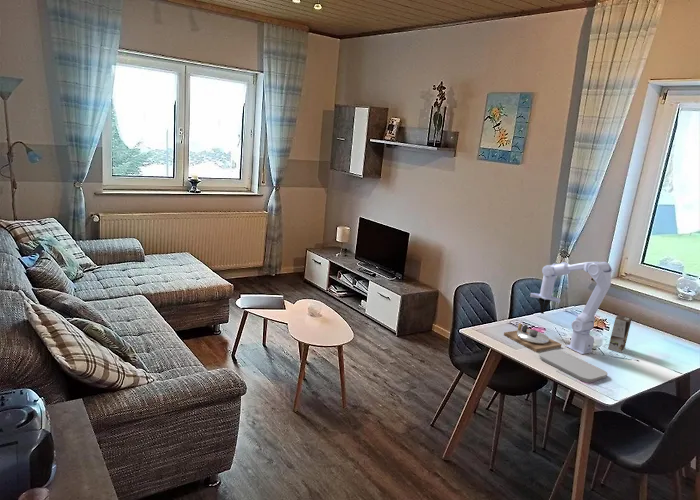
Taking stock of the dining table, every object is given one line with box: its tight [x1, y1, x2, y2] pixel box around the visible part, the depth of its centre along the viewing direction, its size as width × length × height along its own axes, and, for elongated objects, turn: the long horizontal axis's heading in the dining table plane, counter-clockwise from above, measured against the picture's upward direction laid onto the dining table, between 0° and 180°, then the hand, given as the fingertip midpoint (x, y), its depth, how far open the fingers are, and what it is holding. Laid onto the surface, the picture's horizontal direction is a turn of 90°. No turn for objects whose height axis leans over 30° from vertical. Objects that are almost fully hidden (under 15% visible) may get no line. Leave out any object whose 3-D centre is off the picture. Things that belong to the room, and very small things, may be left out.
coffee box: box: [607, 314, 633, 353], centre depth 249 cm, size 9×6×16 cm
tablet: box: [538, 349, 608, 383], centre depth 223 cm, size 16×26×2 cm, turn 32°
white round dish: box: [516, 323, 550, 344], centre depth 247 cm, size 15×15×4 cm
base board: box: [503, 323, 562, 353], centre depth 248 cm, size 20×18×6 cm
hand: (542, 313), depth 260 cm, fingers closed
